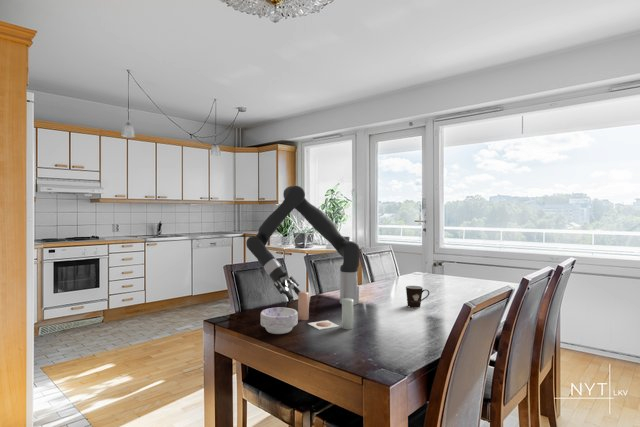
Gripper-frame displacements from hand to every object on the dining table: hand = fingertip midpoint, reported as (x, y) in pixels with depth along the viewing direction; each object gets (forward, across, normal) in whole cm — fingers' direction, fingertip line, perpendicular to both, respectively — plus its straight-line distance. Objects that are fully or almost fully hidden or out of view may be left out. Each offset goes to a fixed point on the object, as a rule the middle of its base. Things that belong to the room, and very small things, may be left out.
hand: (296, 297), depth 183 cm
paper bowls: (+9, -20, +5) cm, 23 cm away
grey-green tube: (+26, -4, -12) cm, 28 cm away
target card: (+18, -5, -5) cm, 19 cm away
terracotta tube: (+9, 0, +4) cm, 10 cm away
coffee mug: (+39, +48, -25) cm, 67 cm away
